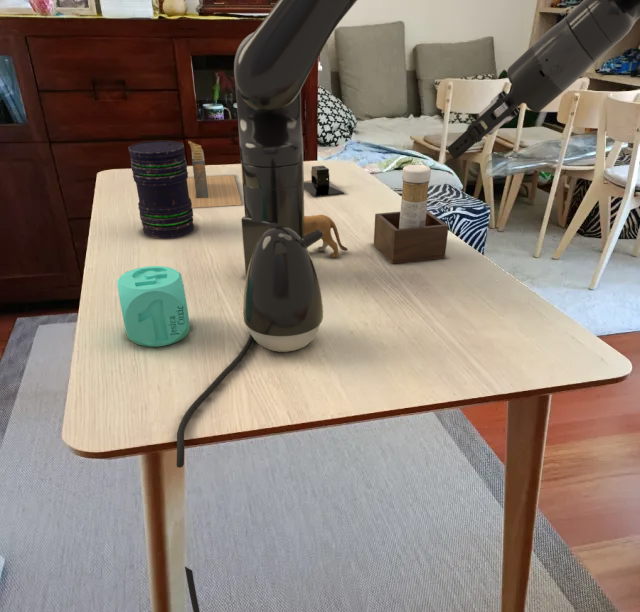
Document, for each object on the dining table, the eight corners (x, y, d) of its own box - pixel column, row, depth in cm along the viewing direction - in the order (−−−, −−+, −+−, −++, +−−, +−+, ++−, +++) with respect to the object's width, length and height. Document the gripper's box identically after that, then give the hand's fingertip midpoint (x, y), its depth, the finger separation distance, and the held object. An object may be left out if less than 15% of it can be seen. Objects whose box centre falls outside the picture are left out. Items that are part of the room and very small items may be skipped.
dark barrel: (158, 242, 111) (144, 155, 102) (133, 229, 117) (117, 146, 108) (205, 230, 117) (195, 146, 108) (178, 218, 122) (167, 138, 114)
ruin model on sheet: (166, 178, 148) (159, 135, 142) (233, 175, 150) (230, 132, 144) (163, 209, 128) (156, 159, 122) (241, 204, 130) (238, 156, 124)
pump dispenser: (334, 354, 77) (335, 236, 68) (254, 367, 75) (244, 246, 66) (312, 320, 85) (311, 210, 76) (239, 330, 83) (229, 218, 74)
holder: (444, 258, 104) (448, 225, 101) (392, 264, 102) (394, 230, 99) (422, 239, 112) (425, 209, 109) (373, 244, 110) (375, 213, 107)
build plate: (344, 194, 136) (344, 173, 134) (313, 198, 134) (313, 176, 132) (325, 180, 146) (325, 159, 143) (296, 183, 144) (295, 162, 141)
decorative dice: (130, 351, 78) (117, 293, 74) (127, 324, 85) (116, 269, 80) (192, 342, 80) (184, 285, 76) (185, 316, 86) (177, 262, 82)
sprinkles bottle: (409, 241, 109) (416, 162, 101) (428, 248, 106) (437, 167, 99) (391, 247, 107) (397, 166, 99) (410, 254, 104) (417, 172, 96)
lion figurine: (263, 259, 104) (260, 206, 99) (264, 248, 108) (261, 197, 103) (348, 258, 105) (350, 204, 99) (346, 247, 109) (347, 195, 104)
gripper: (542, 39, 89) (455, 120, 99) (526, 47, 78) (430, 137, 89) (572, 82, 90) (482, 158, 101) (560, 96, 80) (461, 179, 90)
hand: (458, 148), depth 95 cm, fingers open, 8 cm apart
